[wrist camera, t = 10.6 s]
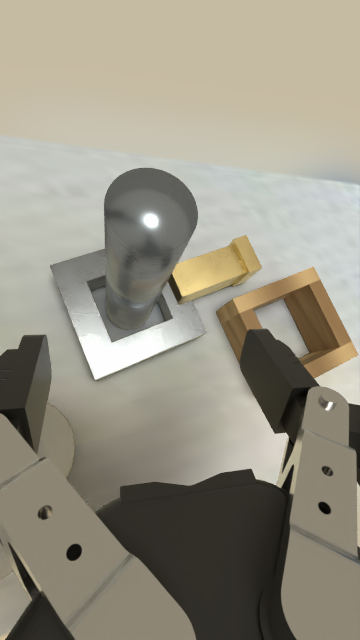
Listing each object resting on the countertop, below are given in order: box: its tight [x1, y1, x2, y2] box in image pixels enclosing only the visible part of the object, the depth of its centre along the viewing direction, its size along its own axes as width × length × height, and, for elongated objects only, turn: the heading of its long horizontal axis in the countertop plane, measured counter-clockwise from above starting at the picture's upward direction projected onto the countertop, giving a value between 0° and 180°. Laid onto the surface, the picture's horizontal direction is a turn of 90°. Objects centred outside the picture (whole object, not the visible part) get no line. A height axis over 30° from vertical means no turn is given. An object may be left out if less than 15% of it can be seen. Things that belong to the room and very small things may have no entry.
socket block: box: [50, 249, 207, 381], centre depth 25 cm, size 9×9×2 cm
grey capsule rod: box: [104, 168, 198, 330], centre depth 19 cm, size 4×4×15 cm
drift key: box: [168, 235, 262, 305], centre depth 27 cm, size 7×3×4 cm, turn 114°
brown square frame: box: [216, 267, 358, 378], centre depth 27 cm, size 8×8×4 cm
